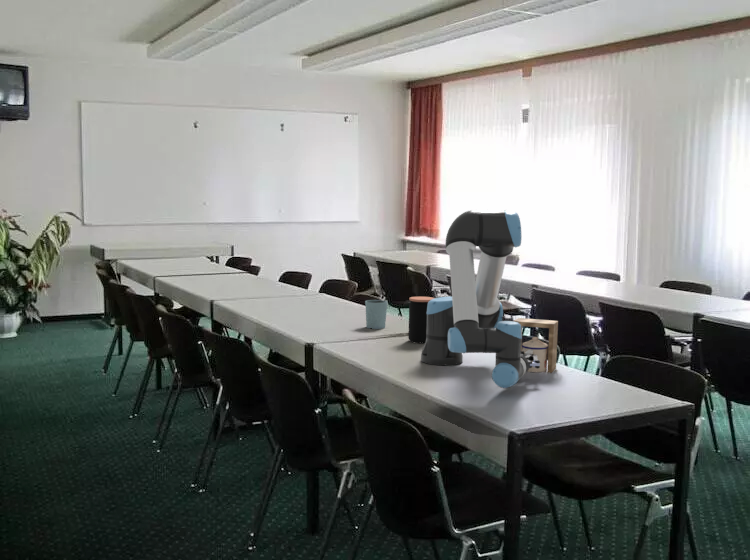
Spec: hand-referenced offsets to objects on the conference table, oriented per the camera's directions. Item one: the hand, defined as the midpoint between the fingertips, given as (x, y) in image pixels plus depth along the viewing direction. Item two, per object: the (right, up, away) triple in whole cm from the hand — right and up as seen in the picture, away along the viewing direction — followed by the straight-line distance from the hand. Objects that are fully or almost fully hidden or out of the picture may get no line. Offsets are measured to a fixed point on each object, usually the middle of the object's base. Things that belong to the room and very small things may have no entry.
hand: (530, 353), depth 272 cm
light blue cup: (-53, +4, +88) cm, 103 cm away
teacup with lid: (+2, -6, +6) cm, 9 cm away
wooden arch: (+3, -6, +7) cm, 9 cm away
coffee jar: (-34, 0, +56) cm, 66 cm away
